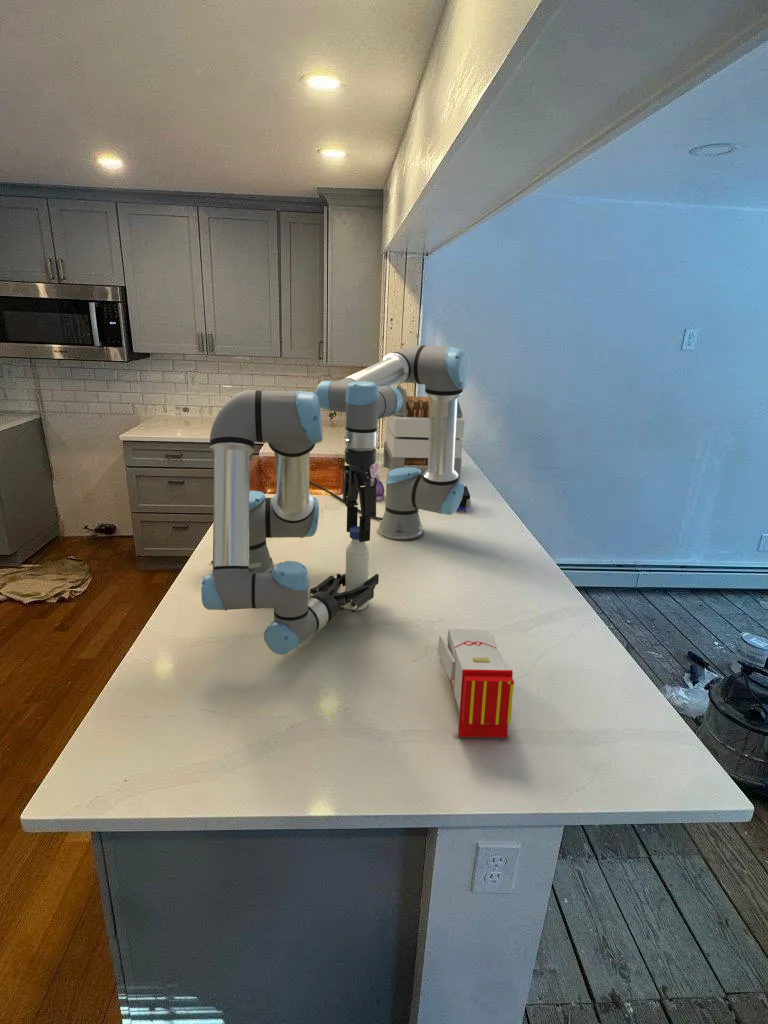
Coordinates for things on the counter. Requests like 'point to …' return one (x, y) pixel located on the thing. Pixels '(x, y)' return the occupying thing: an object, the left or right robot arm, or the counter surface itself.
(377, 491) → the figurine
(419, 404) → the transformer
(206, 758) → the counter surface
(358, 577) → the bottle
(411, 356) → the right robot arm
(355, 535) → the cap
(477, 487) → the counter surface
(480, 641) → the toy
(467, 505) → the figurine character
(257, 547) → the left robot arm
